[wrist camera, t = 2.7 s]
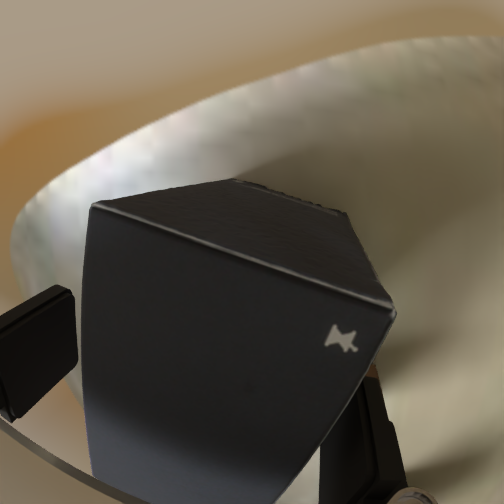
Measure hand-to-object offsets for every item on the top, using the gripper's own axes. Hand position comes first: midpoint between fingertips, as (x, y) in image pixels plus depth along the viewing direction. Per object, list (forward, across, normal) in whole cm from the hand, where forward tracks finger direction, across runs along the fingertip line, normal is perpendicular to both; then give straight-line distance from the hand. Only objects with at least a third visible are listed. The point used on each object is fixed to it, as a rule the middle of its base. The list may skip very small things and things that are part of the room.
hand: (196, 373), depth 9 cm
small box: (+8, -1, 0) cm, 8 cm away
